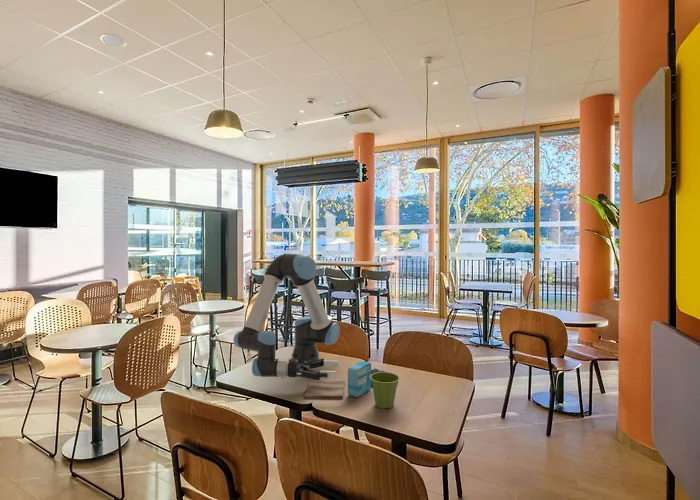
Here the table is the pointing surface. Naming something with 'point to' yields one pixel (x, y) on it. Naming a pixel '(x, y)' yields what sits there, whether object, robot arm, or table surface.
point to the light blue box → (359, 379)
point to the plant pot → (384, 388)
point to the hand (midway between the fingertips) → (337, 369)
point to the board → (325, 389)
